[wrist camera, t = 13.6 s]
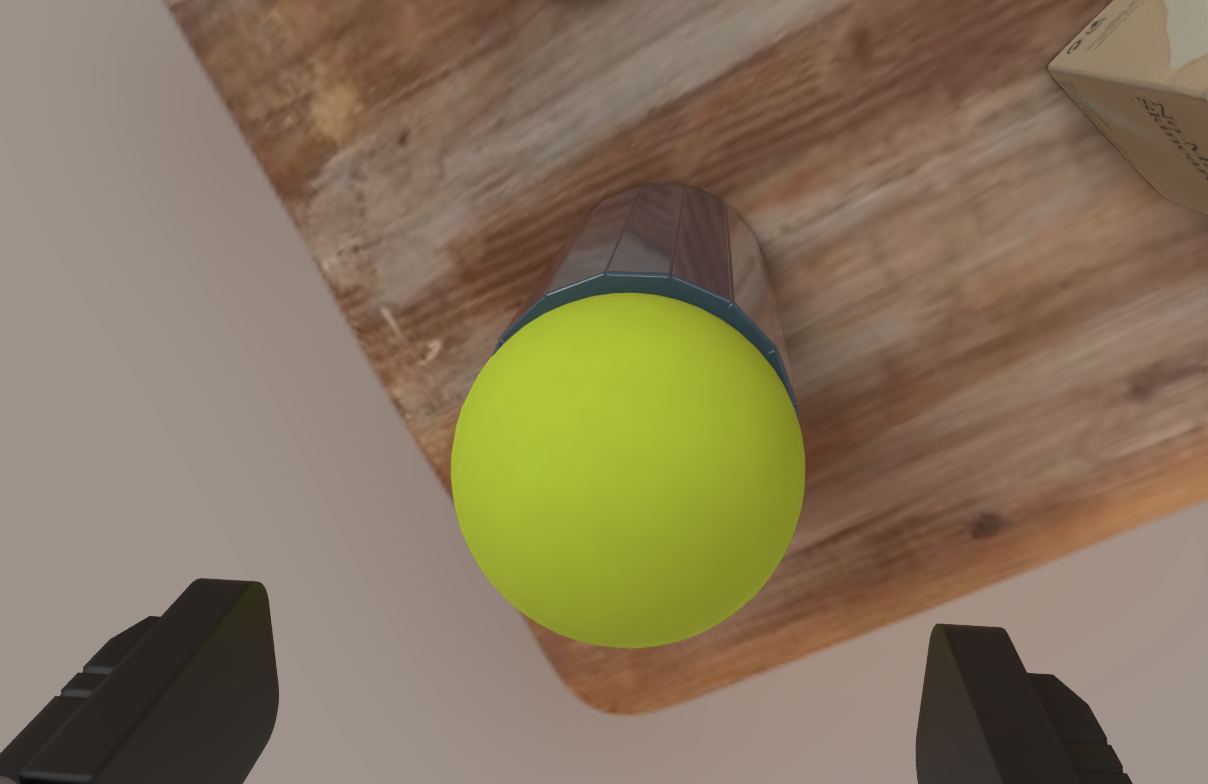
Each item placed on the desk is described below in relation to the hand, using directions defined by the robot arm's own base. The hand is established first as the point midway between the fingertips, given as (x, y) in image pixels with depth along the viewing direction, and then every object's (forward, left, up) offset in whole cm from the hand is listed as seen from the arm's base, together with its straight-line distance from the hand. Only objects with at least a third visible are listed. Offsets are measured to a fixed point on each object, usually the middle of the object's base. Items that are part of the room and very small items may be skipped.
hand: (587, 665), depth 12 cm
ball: (0, 0, -6) cm, 6 cm away
